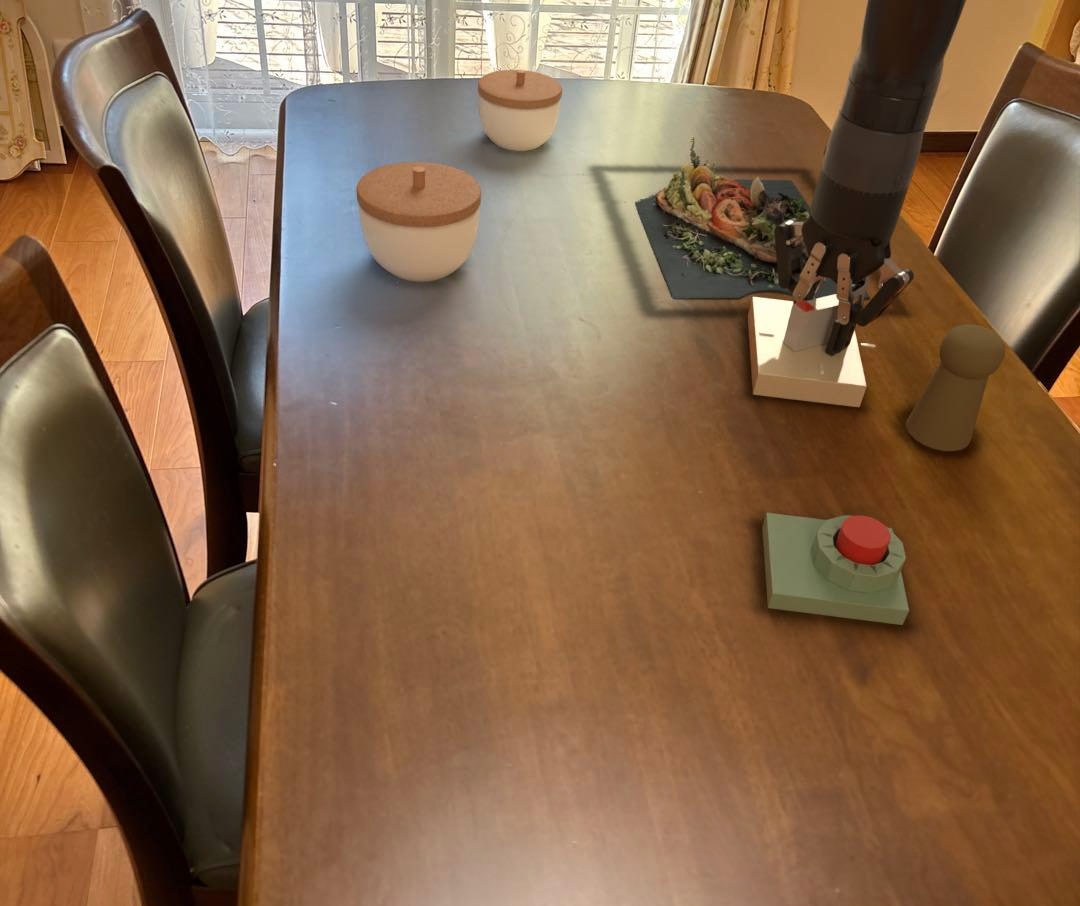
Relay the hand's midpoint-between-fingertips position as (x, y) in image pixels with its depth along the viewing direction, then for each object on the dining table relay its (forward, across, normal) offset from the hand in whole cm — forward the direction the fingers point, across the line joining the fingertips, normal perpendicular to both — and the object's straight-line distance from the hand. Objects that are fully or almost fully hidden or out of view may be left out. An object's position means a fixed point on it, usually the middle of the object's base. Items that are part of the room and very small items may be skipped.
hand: (815, 342), depth 99 cm
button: (-1, -19, +23) cm, 29 cm away
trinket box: (+3, +56, -14) cm, 57 cm away
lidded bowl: (+3, +38, +17) cm, 42 cm away
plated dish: (+3, +21, -16) cm, 27 cm away
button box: (+3, -18, +24) cm, 30 cm away
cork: (+3, -14, 0) cm, 15 cm away
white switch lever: (0, 0, -1) cm, 1 cm away
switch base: (+3, +1, 0) cm, 3 cm away
